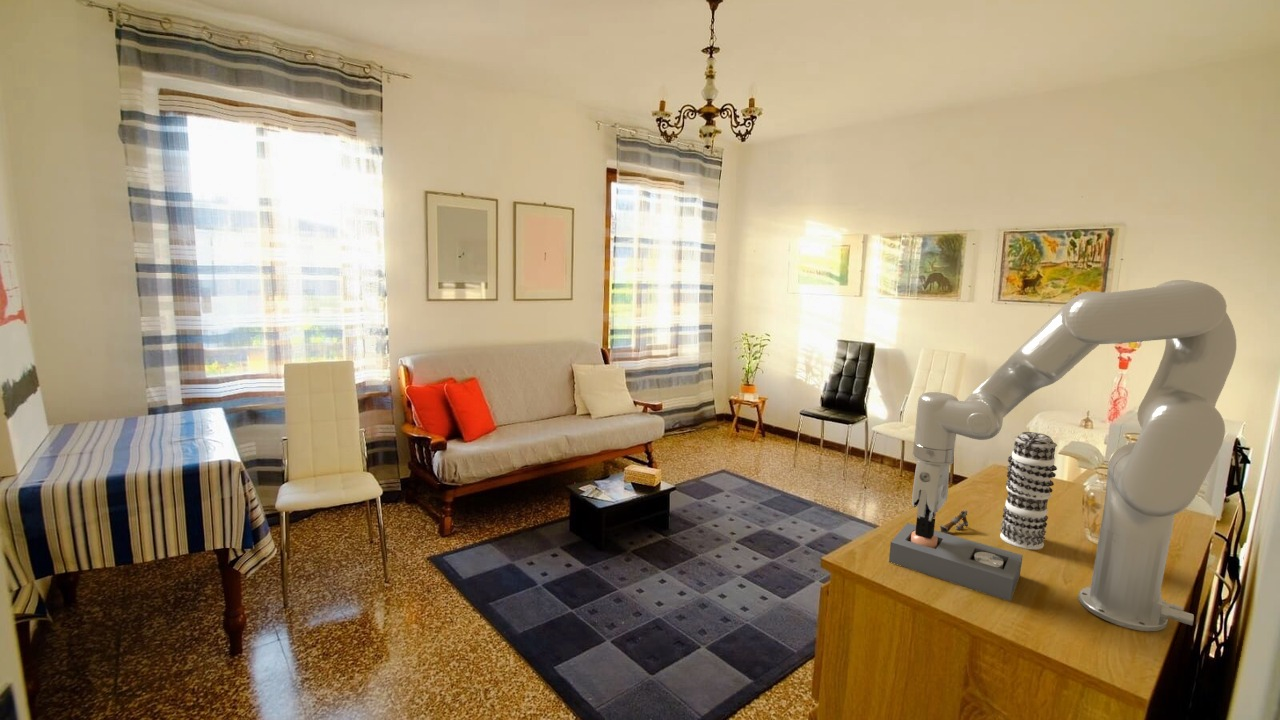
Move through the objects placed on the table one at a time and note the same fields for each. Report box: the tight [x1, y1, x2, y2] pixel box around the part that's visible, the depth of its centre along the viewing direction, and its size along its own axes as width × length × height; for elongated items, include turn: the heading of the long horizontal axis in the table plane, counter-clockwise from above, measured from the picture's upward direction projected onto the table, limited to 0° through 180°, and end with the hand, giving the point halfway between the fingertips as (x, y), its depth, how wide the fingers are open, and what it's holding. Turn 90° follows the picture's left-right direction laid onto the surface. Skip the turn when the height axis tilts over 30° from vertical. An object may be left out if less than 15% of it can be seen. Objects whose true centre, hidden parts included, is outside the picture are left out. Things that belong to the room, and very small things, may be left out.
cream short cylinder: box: [974, 552, 1003, 569], centre depth 118 cm, size 5×5×4 cm
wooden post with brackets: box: [939, 510, 969, 535], centre depth 139 cm, size 2×8×4 cm, turn 114°
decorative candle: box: [999, 431, 1058, 551], centre depth 132 cm, size 9×9×25 cm
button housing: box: [888, 522, 1024, 602], centre depth 121 cm, size 22×12×4 cm, turn 50°
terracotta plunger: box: [911, 531, 938, 549], centre depth 125 cm, size 5×5×4 cm
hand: (924, 535), depth 125 cm, fingers closed
